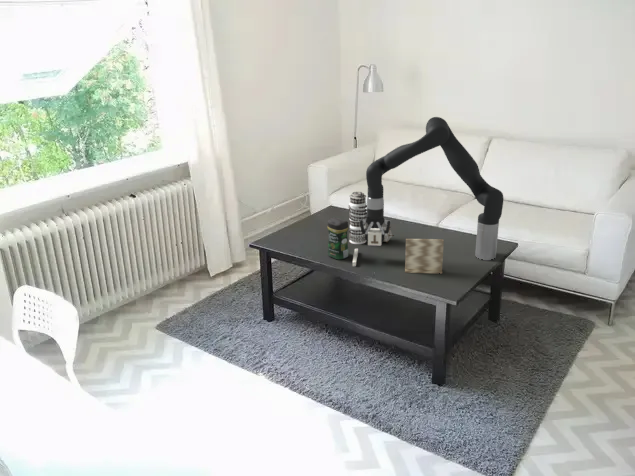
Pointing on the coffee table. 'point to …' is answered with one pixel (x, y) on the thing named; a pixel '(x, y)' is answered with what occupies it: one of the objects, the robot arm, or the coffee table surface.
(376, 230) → the letter cube
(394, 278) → the coffee table surface
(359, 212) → the decorative candle
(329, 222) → the coffee jar
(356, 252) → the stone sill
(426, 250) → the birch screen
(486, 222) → the robot arm
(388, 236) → the game die
